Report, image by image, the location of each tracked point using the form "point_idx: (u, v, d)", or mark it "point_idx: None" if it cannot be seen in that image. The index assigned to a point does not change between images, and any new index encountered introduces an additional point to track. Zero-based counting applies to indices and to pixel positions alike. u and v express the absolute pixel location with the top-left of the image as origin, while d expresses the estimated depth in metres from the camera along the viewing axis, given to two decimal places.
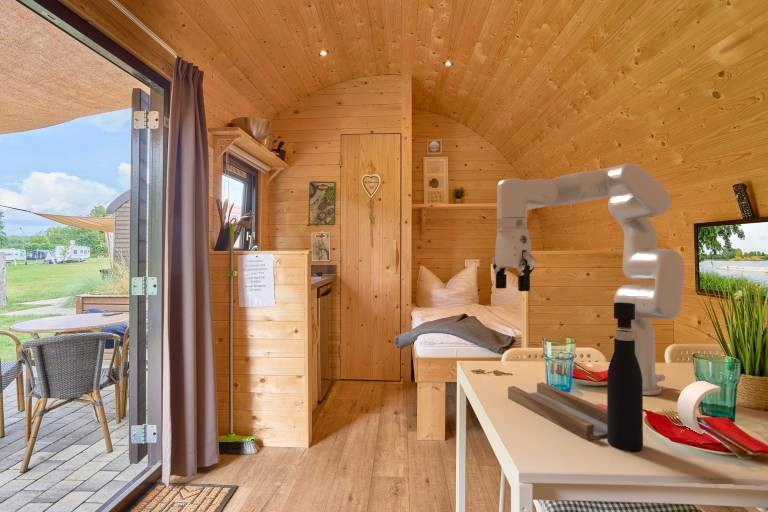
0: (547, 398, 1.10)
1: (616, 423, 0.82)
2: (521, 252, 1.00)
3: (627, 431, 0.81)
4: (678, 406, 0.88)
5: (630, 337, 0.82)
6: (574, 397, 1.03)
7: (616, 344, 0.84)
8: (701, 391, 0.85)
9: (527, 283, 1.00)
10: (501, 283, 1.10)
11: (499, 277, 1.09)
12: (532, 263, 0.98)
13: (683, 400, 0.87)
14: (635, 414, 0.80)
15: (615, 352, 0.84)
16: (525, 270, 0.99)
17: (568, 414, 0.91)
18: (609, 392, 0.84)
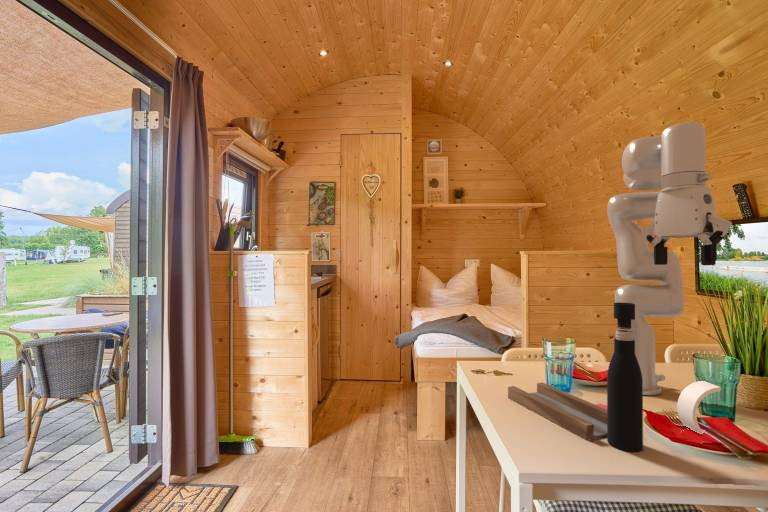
0: (547, 398, 1.10)
1: (616, 423, 0.82)
2: (705, 215, 0.78)
3: (627, 431, 0.81)
4: (678, 406, 0.88)
5: (630, 337, 0.82)
6: (574, 397, 1.03)
7: (616, 344, 0.84)
8: (701, 391, 0.85)
9: (714, 255, 0.78)
10: (662, 258, 0.87)
11: (659, 250, 0.87)
12: (727, 228, 0.75)
13: (684, 400, 0.87)
14: (635, 414, 0.80)
15: (615, 352, 0.84)
16: (714, 238, 0.77)
17: (568, 414, 0.91)
18: (609, 392, 0.84)
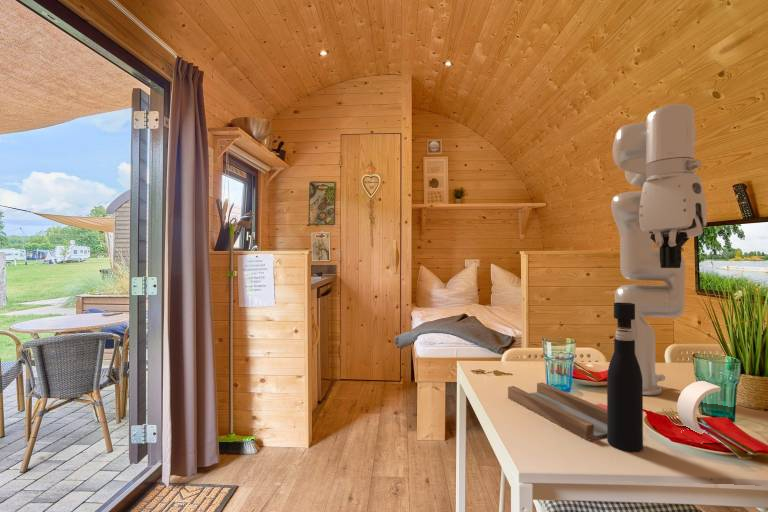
0: (547, 398, 1.10)
1: (616, 423, 0.82)
2: (695, 206, 0.70)
3: (627, 431, 0.81)
4: (678, 406, 0.88)
5: (630, 337, 0.82)
6: (574, 397, 1.03)
7: (616, 344, 0.84)
8: (701, 391, 0.85)
9: (679, 257, 0.74)
10: None
11: None
12: (693, 235, 0.71)
13: (684, 400, 0.87)
14: (635, 414, 0.80)
15: (615, 352, 0.84)
16: (678, 239, 0.73)
17: (568, 414, 0.91)
18: (609, 392, 0.84)
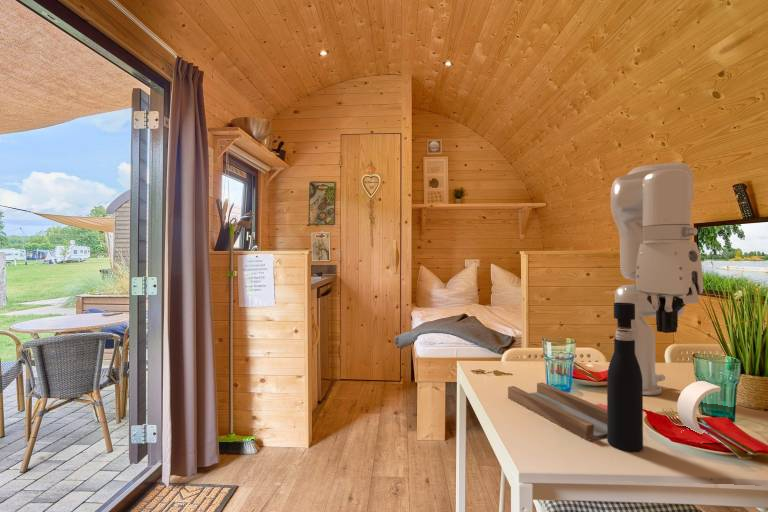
0: (547, 398, 1.10)
1: (616, 423, 0.82)
2: (691, 274, 0.70)
3: (627, 431, 0.81)
4: (678, 406, 0.88)
5: (630, 337, 0.82)
6: (574, 397, 1.03)
7: (616, 344, 0.84)
8: (701, 391, 0.85)
9: (675, 322, 0.74)
10: None
11: None
12: (689, 303, 0.71)
13: (683, 400, 0.87)
14: (635, 414, 0.80)
15: (615, 352, 0.84)
16: (674, 305, 0.73)
17: (568, 414, 0.91)
18: (609, 392, 0.84)
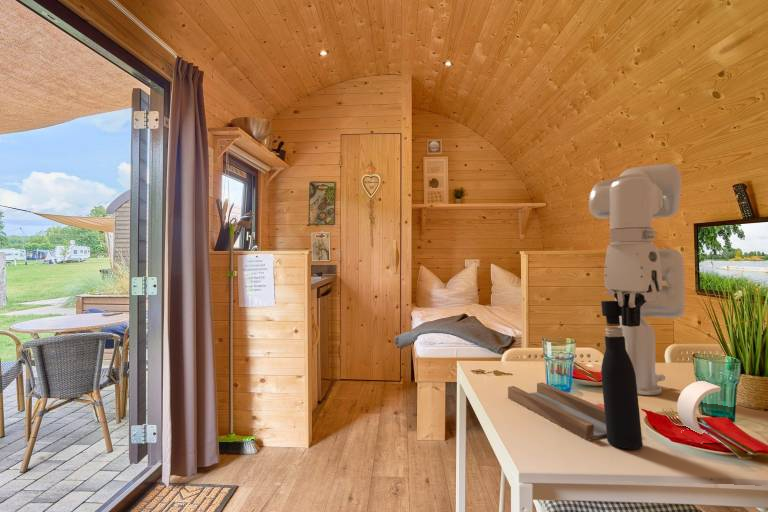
0: (547, 398, 1.10)
1: (613, 420, 0.83)
2: (650, 273, 0.77)
3: (625, 427, 0.81)
4: (678, 406, 0.88)
5: (619, 333, 0.85)
6: (574, 397, 1.03)
7: (606, 341, 0.86)
8: (701, 391, 0.85)
9: (638, 317, 0.81)
10: None
11: None
12: (649, 299, 0.78)
13: (683, 400, 0.87)
14: (631, 409, 0.81)
15: (607, 349, 0.86)
16: (637, 301, 0.80)
17: (568, 414, 0.91)
18: (604, 389, 0.85)
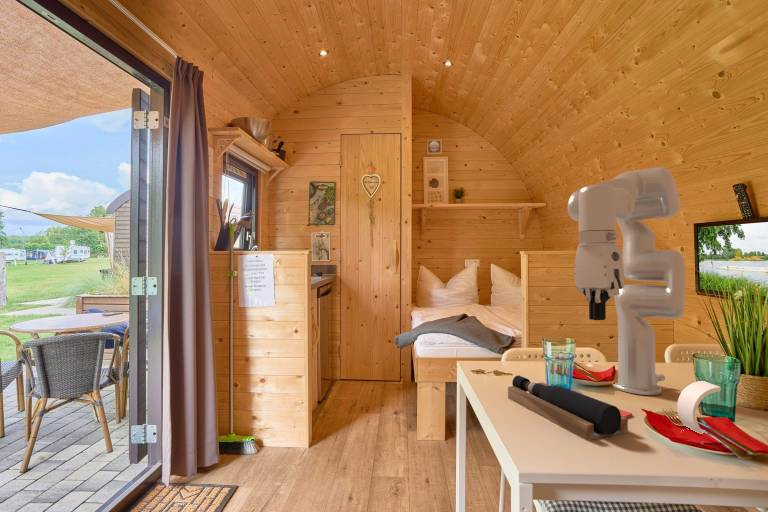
0: None
1: None
2: (613, 271, 0.85)
3: (585, 415, 0.89)
4: (678, 406, 0.88)
5: (531, 386, 1.08)
6: None
7: None
8: (701, 391, 0.85)
9: (603, 311, 0.89)
10: None
11: None
12: (613, 295, 0.86)
13: (683, 400, 0.87)
14: (573, 403, 0.93)
15: None
16: (602, 297, 0.88)
17: (568, 414, 0.91)
18: None
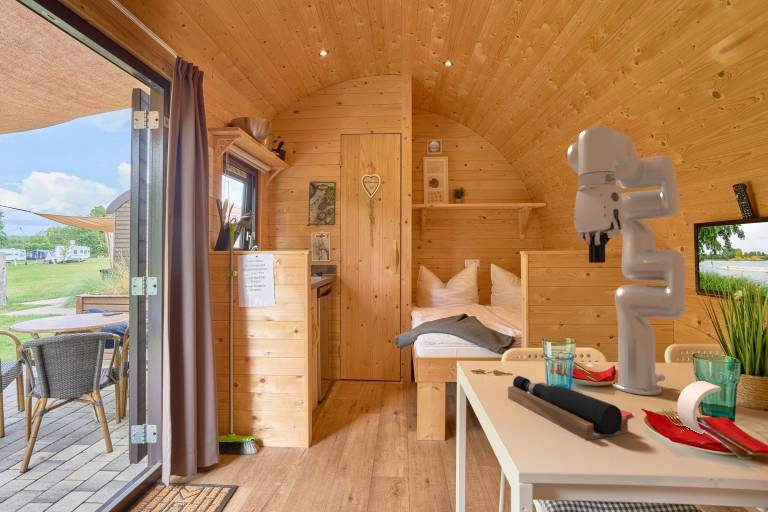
0: None
1: None
2: (612, 211, 0.86)
3: (586, 414, 0.90)
4: (678, 406, 0.88)
5: (532, 386, 1.08)
6: None
7: (538, 397, 1.06)
8: (701, 391, 0.85)
9: (603, 254, 0.89)
10: None
11: None
12: (612, 236, 0.87)
13: (683, 400, 0.87)
14: (574, 401, 0.93)
15: (542, 399, 1.05)
16: (601, 239, 0.88)
17: (568, 414, 0.91)
18: None
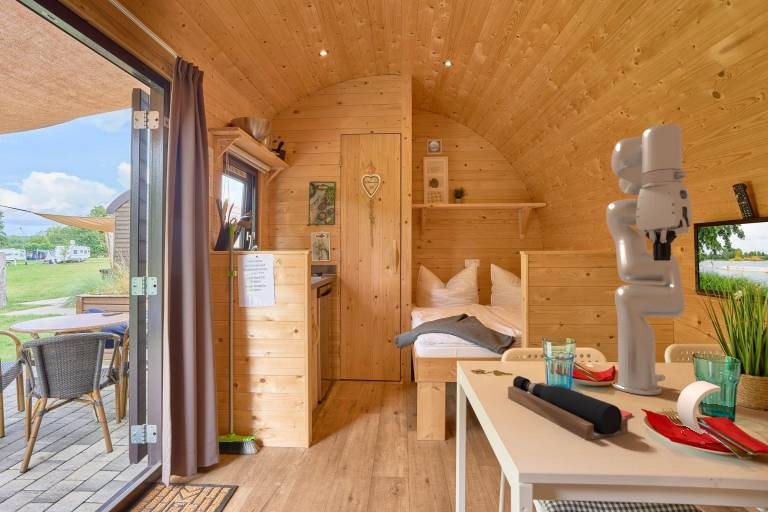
0: None
1: None
2: (681, 209, 0.85)
3: (586, 414, 0.90)
4: (678, 406, 0.88)
5: (532, 386, 1.08)
6: None
7: (538, 397, 1.06)
8: (701, 391, 0.85)
9: (669, 251, 0.89)
10: None
11: None
12: (680, 234, 0.86)
13: (683, 400, 0.87)
14: (574, 401, 0.93)
15: (542, 399, 1.05)
16: (668, 236, 0.88)
17: (568, 414, 0.91)
18: None
